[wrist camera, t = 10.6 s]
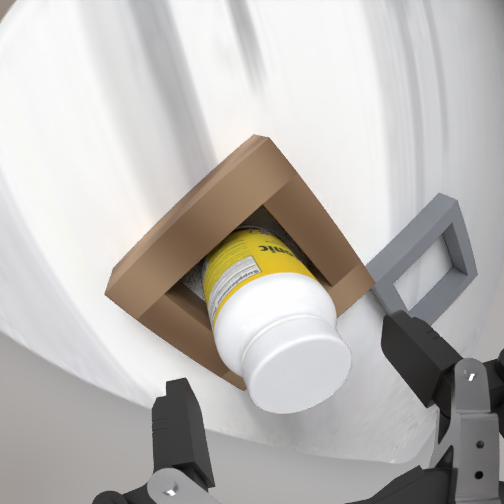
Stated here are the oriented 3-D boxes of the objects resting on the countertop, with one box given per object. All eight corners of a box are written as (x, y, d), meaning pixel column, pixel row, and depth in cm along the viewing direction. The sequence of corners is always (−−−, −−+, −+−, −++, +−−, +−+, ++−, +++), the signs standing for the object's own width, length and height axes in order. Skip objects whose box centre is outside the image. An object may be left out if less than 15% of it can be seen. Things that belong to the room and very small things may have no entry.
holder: (439, 192, 21) (457, 199, 19) (463, 265, 25) (477, 274, 23) (359, 271, 21) (373, 285, 20) (398, 331, 25) (410, 344, 24)
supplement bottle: (302, 263, 20) (387, 364, 11) (239, 317, 21) (285, 439, 12) (249, 202, 18) (327, 289, 9) (180, 265, 18) (193, 393, 9)
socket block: (253, 134, 16) (269, 137, 13) (352, 263, 21) (376, 283, 18) (113, 268, 17) (104, 294, 15) (234, 361, 22) (243, 390, 19)
